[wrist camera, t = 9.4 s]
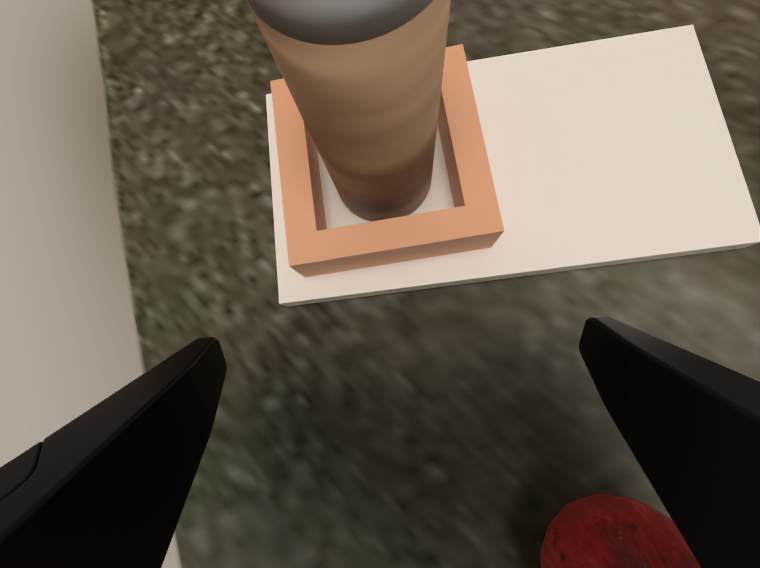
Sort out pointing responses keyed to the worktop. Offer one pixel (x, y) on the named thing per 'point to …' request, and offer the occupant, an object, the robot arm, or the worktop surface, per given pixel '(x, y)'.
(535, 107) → the mount board
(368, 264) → the socket
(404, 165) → the gray-capped wooden tube
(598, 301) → the worktop surface
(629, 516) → the red oval fruit
